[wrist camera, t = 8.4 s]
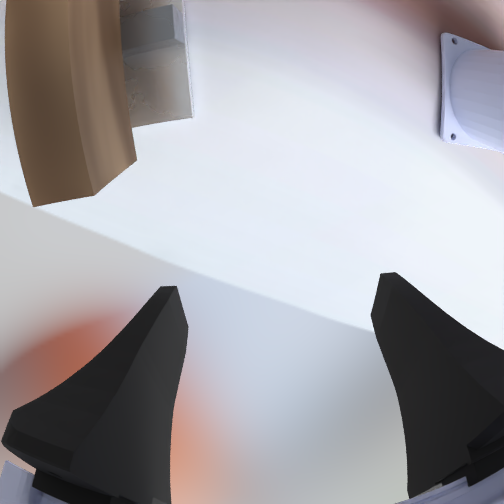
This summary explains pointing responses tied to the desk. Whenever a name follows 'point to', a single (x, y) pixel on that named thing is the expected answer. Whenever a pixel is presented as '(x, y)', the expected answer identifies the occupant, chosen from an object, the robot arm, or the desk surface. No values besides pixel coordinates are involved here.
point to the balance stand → (155, 61)
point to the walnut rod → (67, 96)
